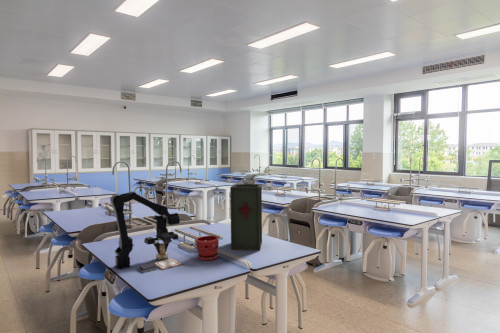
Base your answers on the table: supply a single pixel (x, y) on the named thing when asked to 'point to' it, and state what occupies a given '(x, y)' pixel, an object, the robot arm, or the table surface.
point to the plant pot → (207, 247)
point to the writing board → (167, 263)
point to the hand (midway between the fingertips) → (161, 253)
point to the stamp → (162, 253)
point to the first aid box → (246, 216)
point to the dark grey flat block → (147, 267)
